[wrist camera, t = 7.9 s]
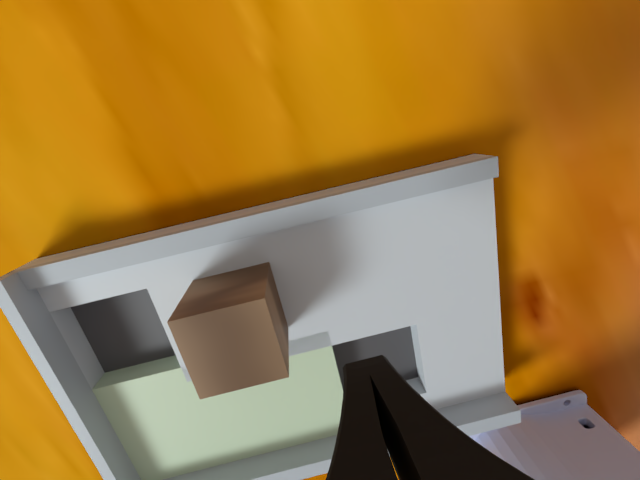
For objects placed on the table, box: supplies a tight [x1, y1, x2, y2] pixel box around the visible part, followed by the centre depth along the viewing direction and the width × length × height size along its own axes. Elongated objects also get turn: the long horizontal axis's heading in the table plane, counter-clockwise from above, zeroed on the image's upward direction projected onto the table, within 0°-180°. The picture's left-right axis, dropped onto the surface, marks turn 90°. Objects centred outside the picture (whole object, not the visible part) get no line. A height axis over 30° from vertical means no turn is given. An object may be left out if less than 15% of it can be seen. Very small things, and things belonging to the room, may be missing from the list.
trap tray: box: [0, 154, 521, 480], centre depth 19 cm, size 24×16×3 cm, turn 102°
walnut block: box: [167, 262, 289, 399], centre depth 16 cm, size 4×4×4 cm
